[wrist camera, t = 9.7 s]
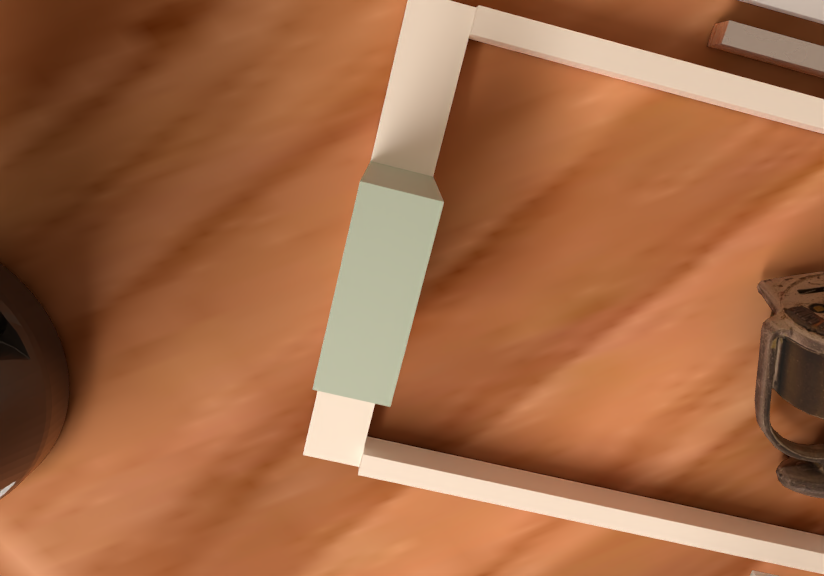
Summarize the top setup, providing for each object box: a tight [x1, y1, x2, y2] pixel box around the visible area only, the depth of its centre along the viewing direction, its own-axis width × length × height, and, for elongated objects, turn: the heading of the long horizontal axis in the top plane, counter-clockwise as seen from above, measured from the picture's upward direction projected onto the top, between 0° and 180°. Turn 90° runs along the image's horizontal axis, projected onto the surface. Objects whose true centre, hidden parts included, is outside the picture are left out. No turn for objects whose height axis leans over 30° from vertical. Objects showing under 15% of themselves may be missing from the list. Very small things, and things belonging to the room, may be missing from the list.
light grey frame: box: [303, 0, 824, 574], centre depth 30 cm, size 31×23×10 cm
